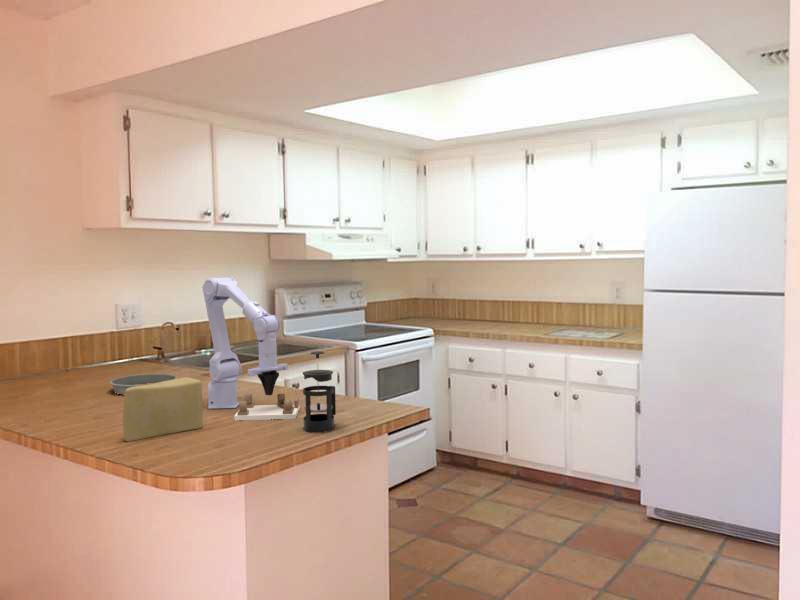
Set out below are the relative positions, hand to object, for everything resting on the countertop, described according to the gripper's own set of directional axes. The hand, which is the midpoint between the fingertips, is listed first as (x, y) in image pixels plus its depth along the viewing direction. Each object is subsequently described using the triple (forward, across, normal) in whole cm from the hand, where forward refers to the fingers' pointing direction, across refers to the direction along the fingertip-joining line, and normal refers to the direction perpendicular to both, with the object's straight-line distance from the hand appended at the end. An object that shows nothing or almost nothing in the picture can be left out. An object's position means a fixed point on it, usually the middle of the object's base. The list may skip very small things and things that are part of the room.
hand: (268, 394), depth 213 cm
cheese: (+7, -34, +6) cm, 35 cm away
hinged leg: (+5, +4, -3) cm, 7 cm away
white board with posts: (+6, -1, 0) cm, 6 cm away
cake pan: (+6, -7, +70) cm, 71 cm away
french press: (+7, -1, -26) cm, 27 cm away
